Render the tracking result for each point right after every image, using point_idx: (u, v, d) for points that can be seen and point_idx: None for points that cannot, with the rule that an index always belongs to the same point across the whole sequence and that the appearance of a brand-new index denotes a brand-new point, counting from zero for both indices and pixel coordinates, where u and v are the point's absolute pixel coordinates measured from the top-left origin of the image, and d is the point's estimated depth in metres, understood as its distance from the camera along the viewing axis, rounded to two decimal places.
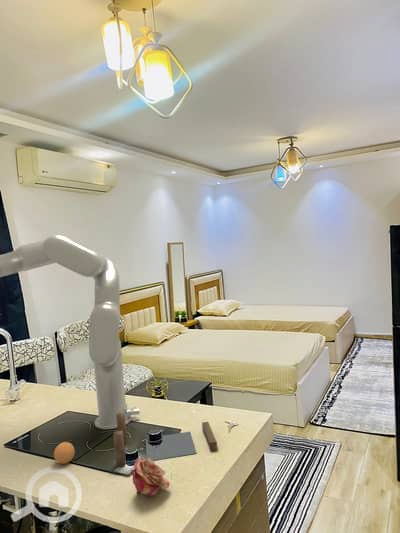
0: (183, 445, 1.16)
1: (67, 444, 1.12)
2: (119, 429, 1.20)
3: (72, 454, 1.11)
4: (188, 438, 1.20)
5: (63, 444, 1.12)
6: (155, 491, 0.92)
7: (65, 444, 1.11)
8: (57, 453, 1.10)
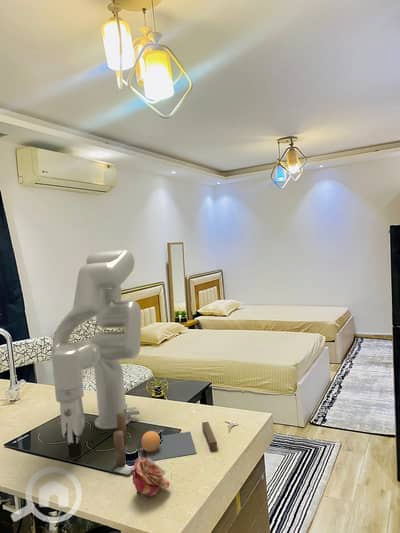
0: (183, 445, 1.16)
1: None
2: (119, 429, 1.20)
3: None
4: (188, 438, 1.20)
5: (158, 447, 1.14)
6: (155, 491, 0.92)
7: (156, 449, 1.14)
8: (156, 443, 1.13)
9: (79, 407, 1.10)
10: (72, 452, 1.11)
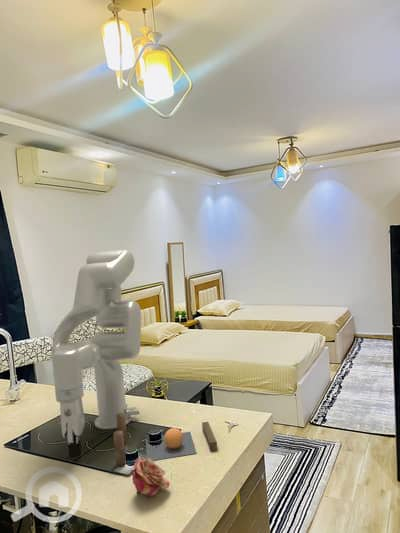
0: (183, 445, 1.16)
1: (164, 436, 1.15)
2: (119, 429, 1.20)
3: (173, 431, 1.14)
4: (188, 438, 1.20)
5: (164, 440, 1.15)
6: (155, 491, 0.92)
7: (164, 438, 1.14)
8: (170, 446, 1.13)
9: (79, 407, 1.10)
10: (72, 452, 1.11)
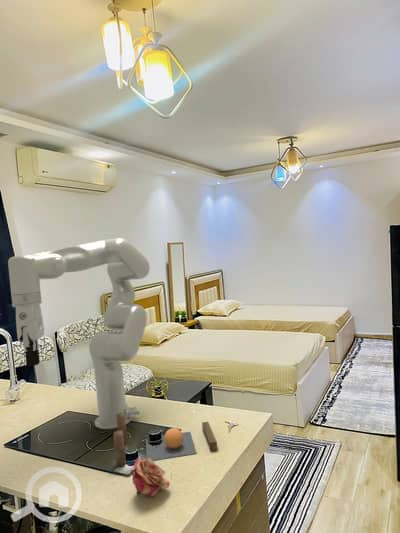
0: (183, 445, 1.16)
1: (164, 436, 1.15)
2: (119, 429, 1.20)
3: (173, 431, 1.14)
4: (188, 438, 1.20)
5: (164, 440, 1.15)
6: (155, 491, 0.92)
7: (164, 438, 1.14)
8: (170, 446, 1.13)
9: (36, 313, 1.08)
10: (29, 359, 1.09)
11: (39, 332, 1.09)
